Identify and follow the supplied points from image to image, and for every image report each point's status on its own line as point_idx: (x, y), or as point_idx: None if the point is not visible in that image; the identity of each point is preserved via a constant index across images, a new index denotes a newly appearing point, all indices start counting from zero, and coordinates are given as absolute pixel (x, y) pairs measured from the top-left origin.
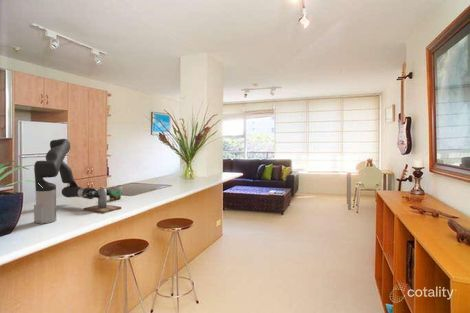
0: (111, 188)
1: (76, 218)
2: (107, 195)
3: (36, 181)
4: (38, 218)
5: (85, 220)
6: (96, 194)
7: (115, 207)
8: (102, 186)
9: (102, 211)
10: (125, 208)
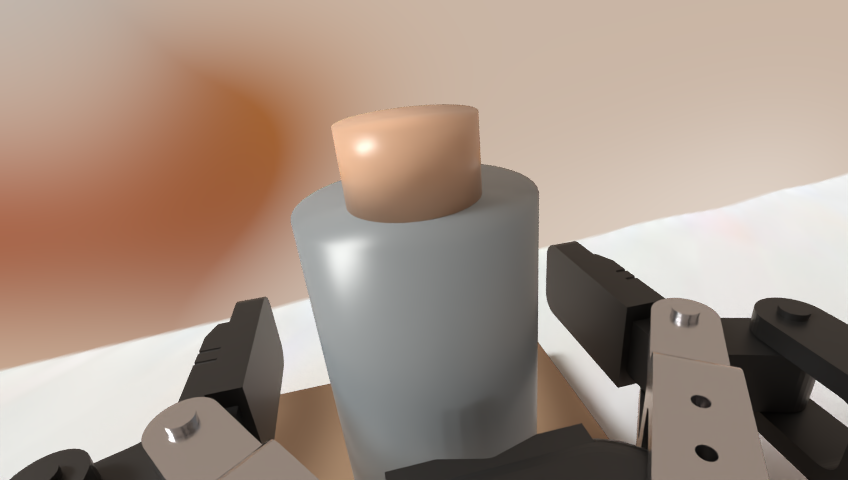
0: None
1: None
2: (277, 405)
3: None
4: None
5: (724, 275)
6: (602, 263)
7: (328, 412)
8: (381, 124)
9: (543, 350)
10: None
